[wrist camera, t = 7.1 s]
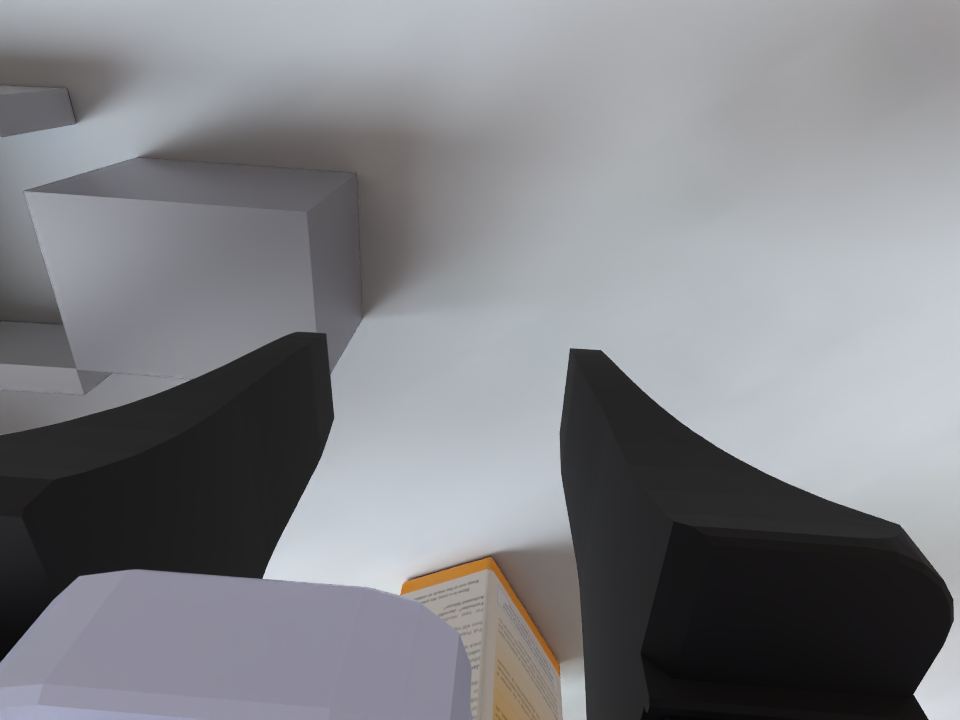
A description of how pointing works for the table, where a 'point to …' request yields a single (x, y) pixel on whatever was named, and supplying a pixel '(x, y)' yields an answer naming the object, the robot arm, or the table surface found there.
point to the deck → (35, 346)
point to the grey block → (198, 262)
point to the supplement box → (494, 641)
